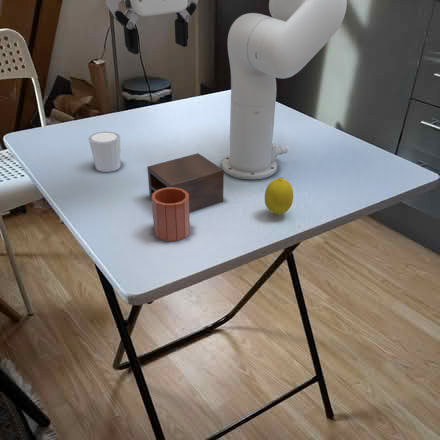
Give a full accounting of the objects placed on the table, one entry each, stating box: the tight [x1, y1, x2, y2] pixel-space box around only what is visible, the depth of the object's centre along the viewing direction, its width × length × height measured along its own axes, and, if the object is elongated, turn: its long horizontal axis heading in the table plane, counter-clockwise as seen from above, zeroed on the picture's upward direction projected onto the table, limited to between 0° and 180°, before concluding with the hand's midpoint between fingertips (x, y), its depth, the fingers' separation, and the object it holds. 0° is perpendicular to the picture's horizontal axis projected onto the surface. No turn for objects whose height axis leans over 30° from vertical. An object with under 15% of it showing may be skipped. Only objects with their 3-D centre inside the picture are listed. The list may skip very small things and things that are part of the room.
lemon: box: [264, 177, 294, 216], centre depth 101 cm, size 6×6×8 cm
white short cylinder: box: [88, 131, 122, 173], centre depth 117 cm, size 7×7×7 cm
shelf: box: [146, 152, 225, 213], centre depth 105 cm, size 12×10×7 cm
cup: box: [151, 187, 191, 242], centre depth 95 cm, size 7×7×8 cm
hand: (157, 48), depth 92 cm, fingers open, 9 cm apart
